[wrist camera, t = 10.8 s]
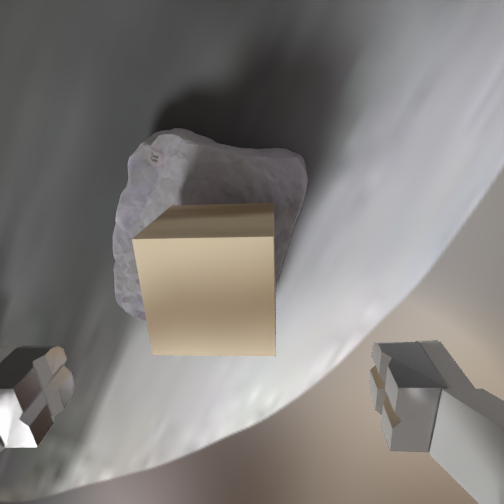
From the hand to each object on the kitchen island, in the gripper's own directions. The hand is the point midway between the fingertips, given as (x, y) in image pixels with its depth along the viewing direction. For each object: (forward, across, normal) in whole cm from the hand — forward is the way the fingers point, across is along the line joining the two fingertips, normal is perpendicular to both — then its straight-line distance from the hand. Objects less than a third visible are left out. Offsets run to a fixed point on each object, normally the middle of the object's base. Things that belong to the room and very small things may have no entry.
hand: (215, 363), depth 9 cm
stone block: (+13, +3, +1) cm, 13 cm away
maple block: (+9, +1, 0) cm, 9 cm away
